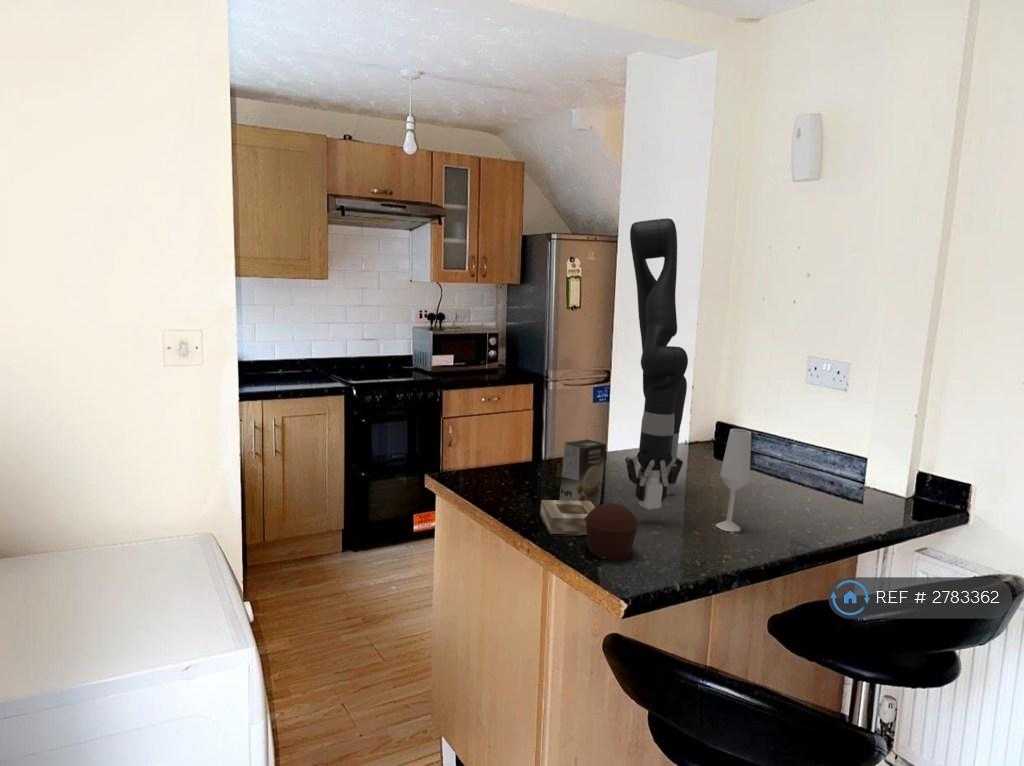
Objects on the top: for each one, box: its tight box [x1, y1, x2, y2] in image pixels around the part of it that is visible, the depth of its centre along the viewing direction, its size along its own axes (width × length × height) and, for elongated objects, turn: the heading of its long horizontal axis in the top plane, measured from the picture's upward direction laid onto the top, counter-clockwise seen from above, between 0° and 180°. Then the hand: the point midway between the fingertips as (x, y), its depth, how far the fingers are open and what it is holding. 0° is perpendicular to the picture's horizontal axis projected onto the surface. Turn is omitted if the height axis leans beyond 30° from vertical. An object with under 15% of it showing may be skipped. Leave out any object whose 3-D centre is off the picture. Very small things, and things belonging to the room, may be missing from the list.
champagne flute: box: [715, 428, 752, 532], centre depth 166 cm, size 7×7×24 cm
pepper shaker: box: [638, 470, 663, 511], centre depth 166 cm, size 4×4×10 cm
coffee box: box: [558, 438, 607, 507], centre depth 176 cm, size 9×6×16 cm
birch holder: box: [539, 499, 596, 536], centre depth 161 cm, size 12×12×4 cm
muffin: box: [584, 502, 640, 560], centre depth 147 cm, size 12×11×10 cm
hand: (650, 499), depth 166 cm, fingers closed on pepper shaker, 4 cm apart
